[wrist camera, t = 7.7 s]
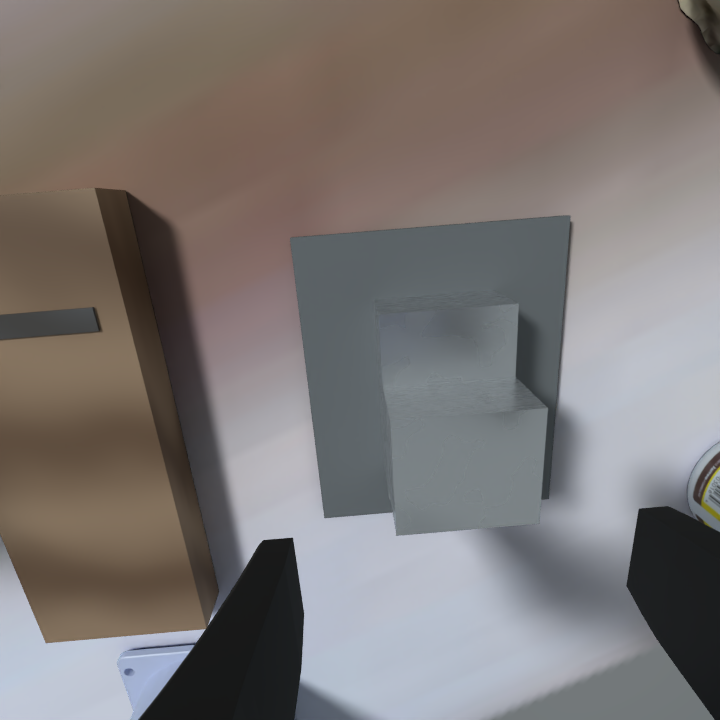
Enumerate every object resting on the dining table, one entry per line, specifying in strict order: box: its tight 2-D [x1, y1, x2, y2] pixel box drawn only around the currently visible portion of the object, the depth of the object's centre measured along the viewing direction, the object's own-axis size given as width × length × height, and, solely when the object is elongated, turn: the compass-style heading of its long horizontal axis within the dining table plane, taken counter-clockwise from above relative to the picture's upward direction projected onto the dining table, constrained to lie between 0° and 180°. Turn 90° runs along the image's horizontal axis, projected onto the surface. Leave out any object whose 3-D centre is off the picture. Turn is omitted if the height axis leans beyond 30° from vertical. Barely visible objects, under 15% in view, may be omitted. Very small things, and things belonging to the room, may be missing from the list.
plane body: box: [0, 188, 219, 643], centre depth 17 cm, size 18×7×2 cm, turn 4°
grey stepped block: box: [374, 290, 548, 536], centre depth 15 cm, size 7×4×5 cm, turn 4°
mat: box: [290, 216, 570, 518], centre depth 18 cm, size 12×10×1 cm
